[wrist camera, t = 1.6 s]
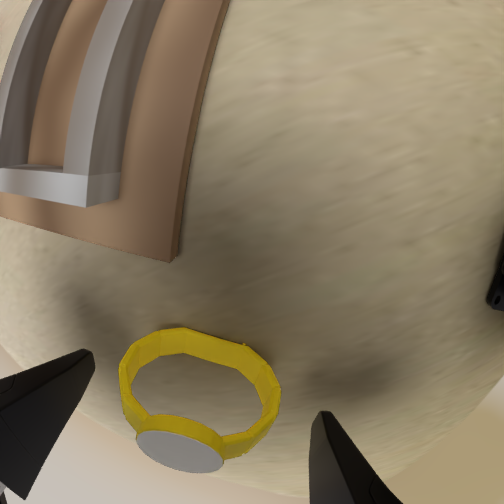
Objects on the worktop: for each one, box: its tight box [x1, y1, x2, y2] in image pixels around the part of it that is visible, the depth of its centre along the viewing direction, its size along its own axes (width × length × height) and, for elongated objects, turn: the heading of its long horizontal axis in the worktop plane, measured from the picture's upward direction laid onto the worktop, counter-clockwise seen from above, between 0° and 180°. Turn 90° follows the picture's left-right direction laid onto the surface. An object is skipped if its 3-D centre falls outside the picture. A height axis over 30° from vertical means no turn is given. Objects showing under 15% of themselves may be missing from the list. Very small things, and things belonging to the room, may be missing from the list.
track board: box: [0, 0, 230, 263], centre depth 7 cm, size 12×16×3 cm
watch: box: [118, 327, 281, 473], centre depth 9 cm, size 6×3×6 cm, turn 75°
